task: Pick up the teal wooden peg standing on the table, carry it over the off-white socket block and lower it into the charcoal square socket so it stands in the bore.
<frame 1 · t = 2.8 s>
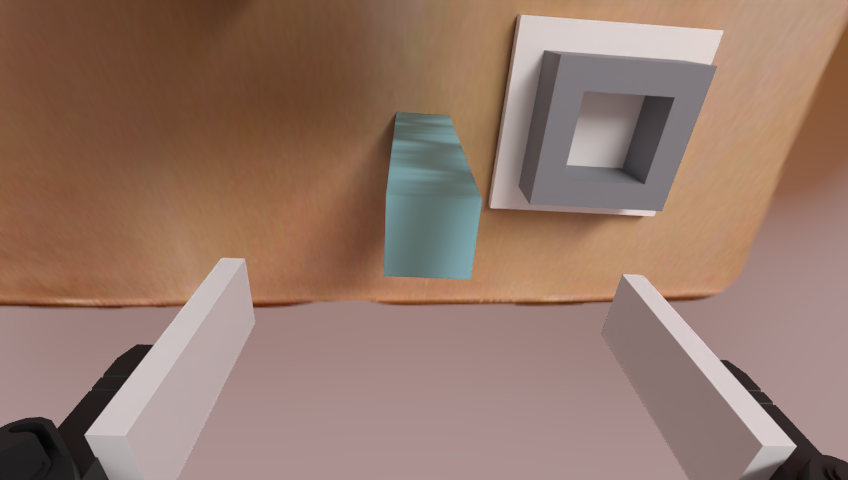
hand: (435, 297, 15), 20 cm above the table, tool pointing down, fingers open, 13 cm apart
peg: (421, 140, 32), on the table
socket block: (590, 124, 32), on the table
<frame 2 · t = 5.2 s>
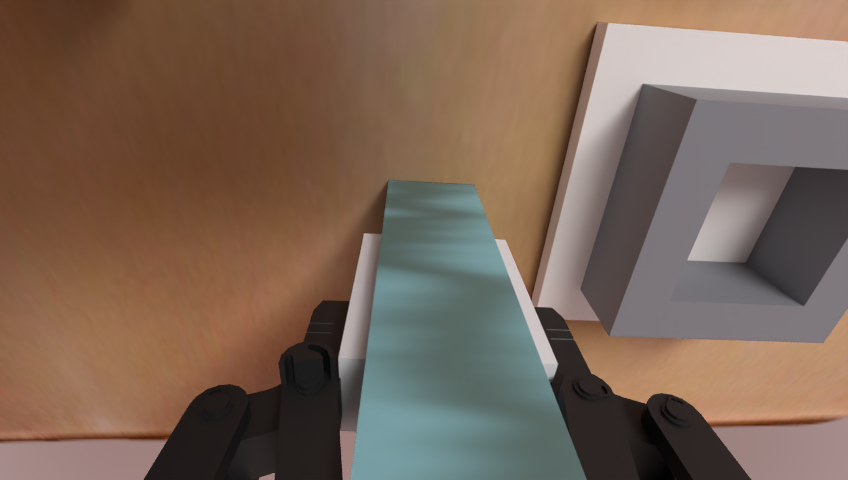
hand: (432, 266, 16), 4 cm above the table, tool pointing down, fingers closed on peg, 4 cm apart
peg: (428, 221, 20), on the table, touching gripper
socket block: (699, 196, 20), on the table
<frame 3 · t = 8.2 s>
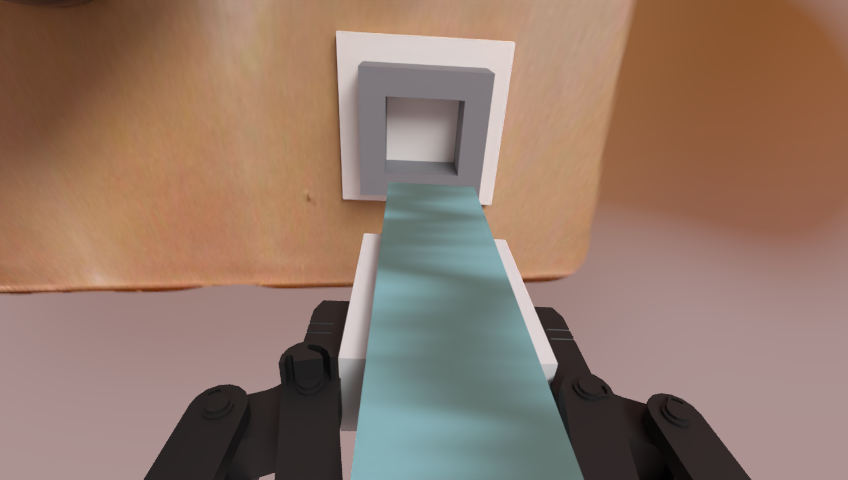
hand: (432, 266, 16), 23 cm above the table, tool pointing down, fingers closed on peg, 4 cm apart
peg: (428, 222, 20), point 19 cm above the table, touching gripper
socket block: (421, 124, 36), on the table
when the fingers open (6 cm above the table, at t = 11.3 s): peg stays where it is, resting on socket block.
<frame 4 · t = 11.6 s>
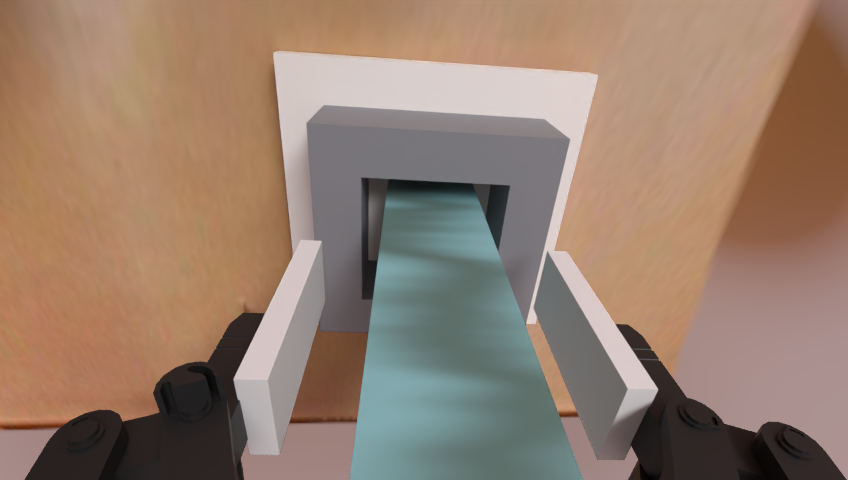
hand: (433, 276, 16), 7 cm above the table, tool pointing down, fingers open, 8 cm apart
peg: (427, 213, 21), point 1 cm above the table, touching socket block
socket block: (426, 204, 22), on the table
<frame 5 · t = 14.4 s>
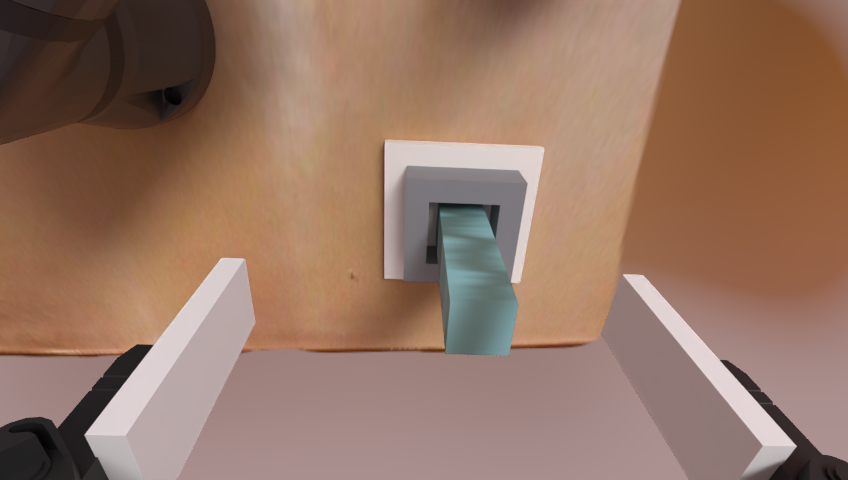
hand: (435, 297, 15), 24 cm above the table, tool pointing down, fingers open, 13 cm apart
peg: (458, 219, 39), point 1 cm above the table, touching socket block
socket block: (457, 214, 40), on the table
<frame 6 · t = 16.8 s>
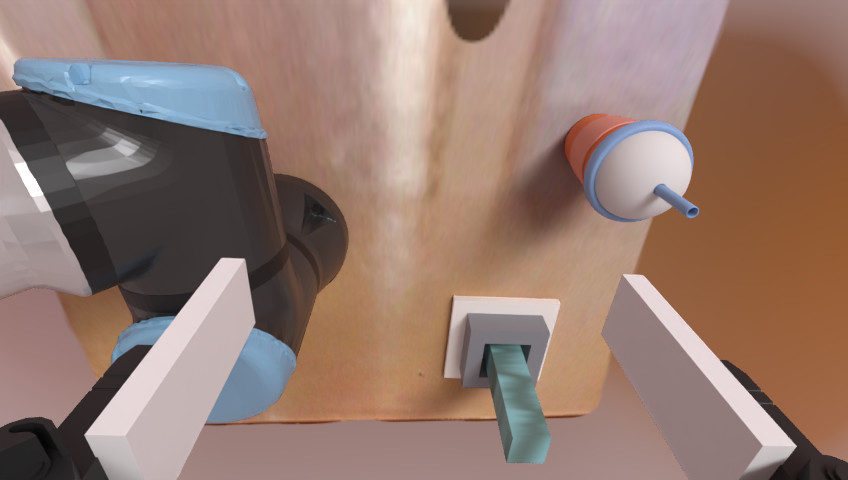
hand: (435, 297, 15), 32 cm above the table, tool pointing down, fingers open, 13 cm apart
cup with straw: (591, 142, 45), on the table
peg: (499, 343, 57), point 1 cm above the table, touching socket block
socket block: (498, 337, 58), on the table
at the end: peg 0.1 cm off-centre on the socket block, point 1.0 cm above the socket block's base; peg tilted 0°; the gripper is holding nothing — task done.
